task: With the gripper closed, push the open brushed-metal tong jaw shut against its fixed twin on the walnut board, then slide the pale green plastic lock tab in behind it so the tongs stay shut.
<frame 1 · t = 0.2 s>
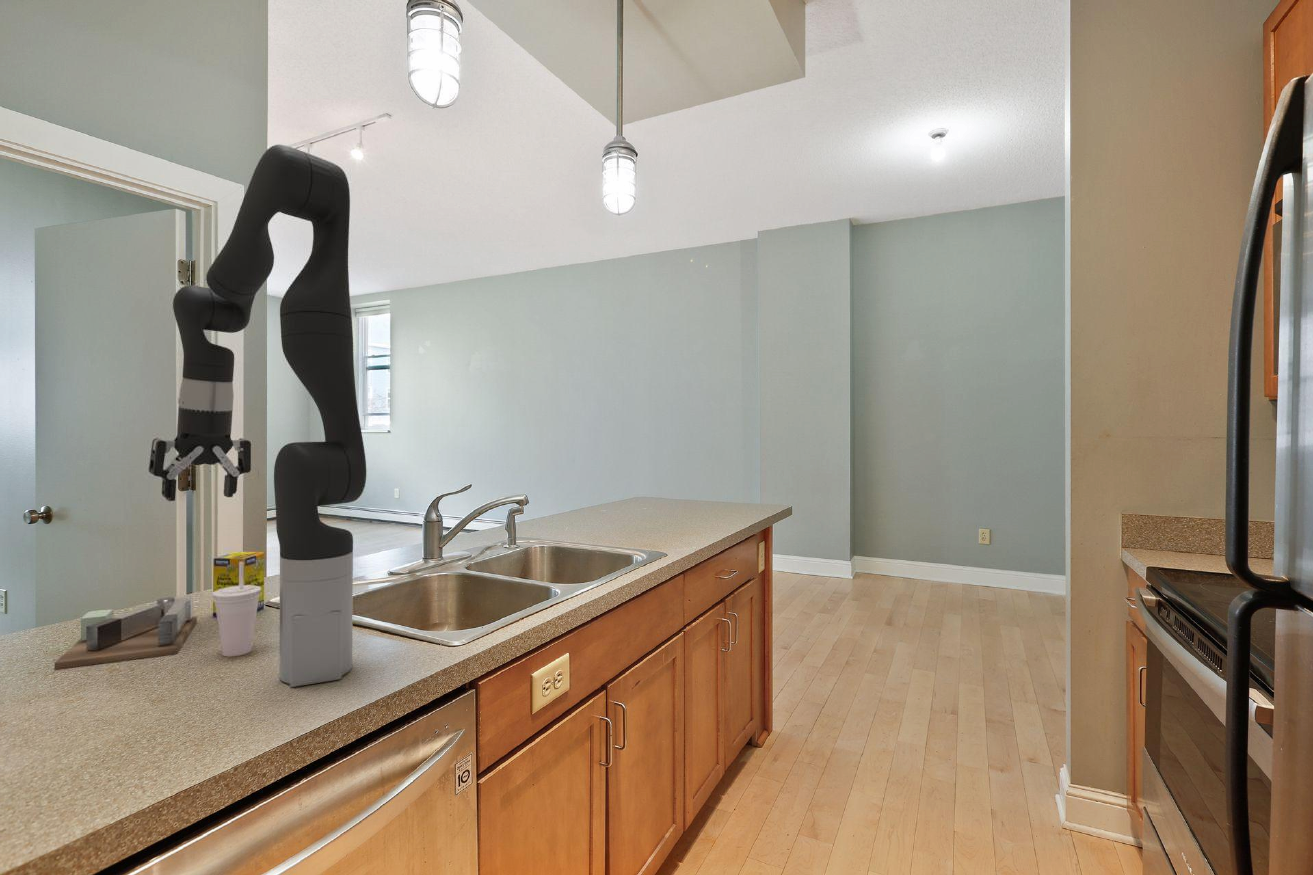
hand: (200, 498, 107), 22 cm above the counter, tool pointing down, fingers open, 8 cm apart
tong jaw: (125, 625, 98), point 3 cm above the counter, hinge at 30.0°
smoothie: (236, 653, 96), on the counter
lock tab: (97, 624, 99), point 3 cm above the counter, slide at 0.0 cm
fixed jaw: (165, 628, 106), resting on walnut board
walnut board: (133, 642, 99), on the counter
supplement box: (239, 613, 115), on the counter
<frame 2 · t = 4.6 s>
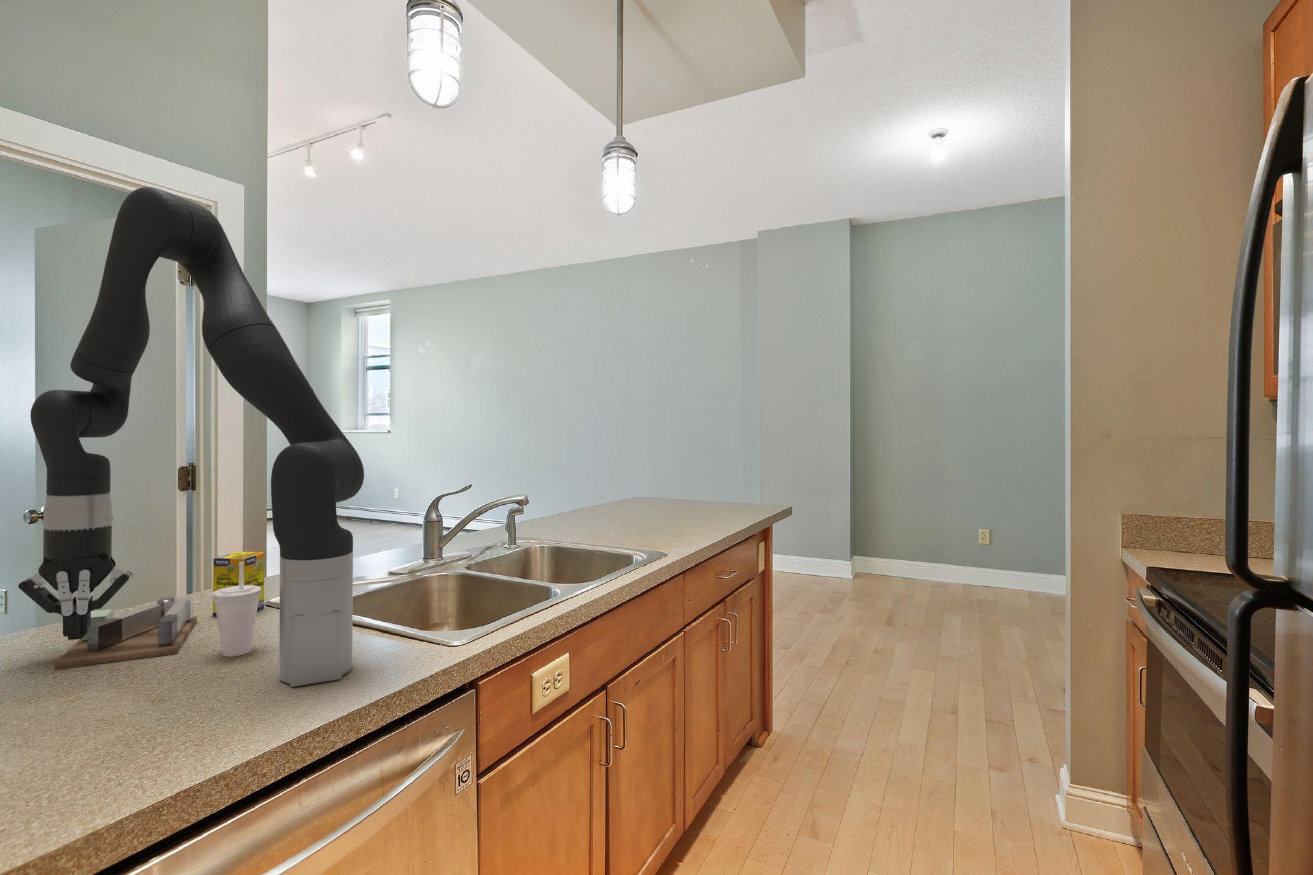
hand: (77, 637, 93), 3 cm above the counter, tool pointing down, fingers closed
tong jaw: (126, 625, 98), point 3 cm above the counter, hinge at 29.4°, touching gripper
everything else where it was.
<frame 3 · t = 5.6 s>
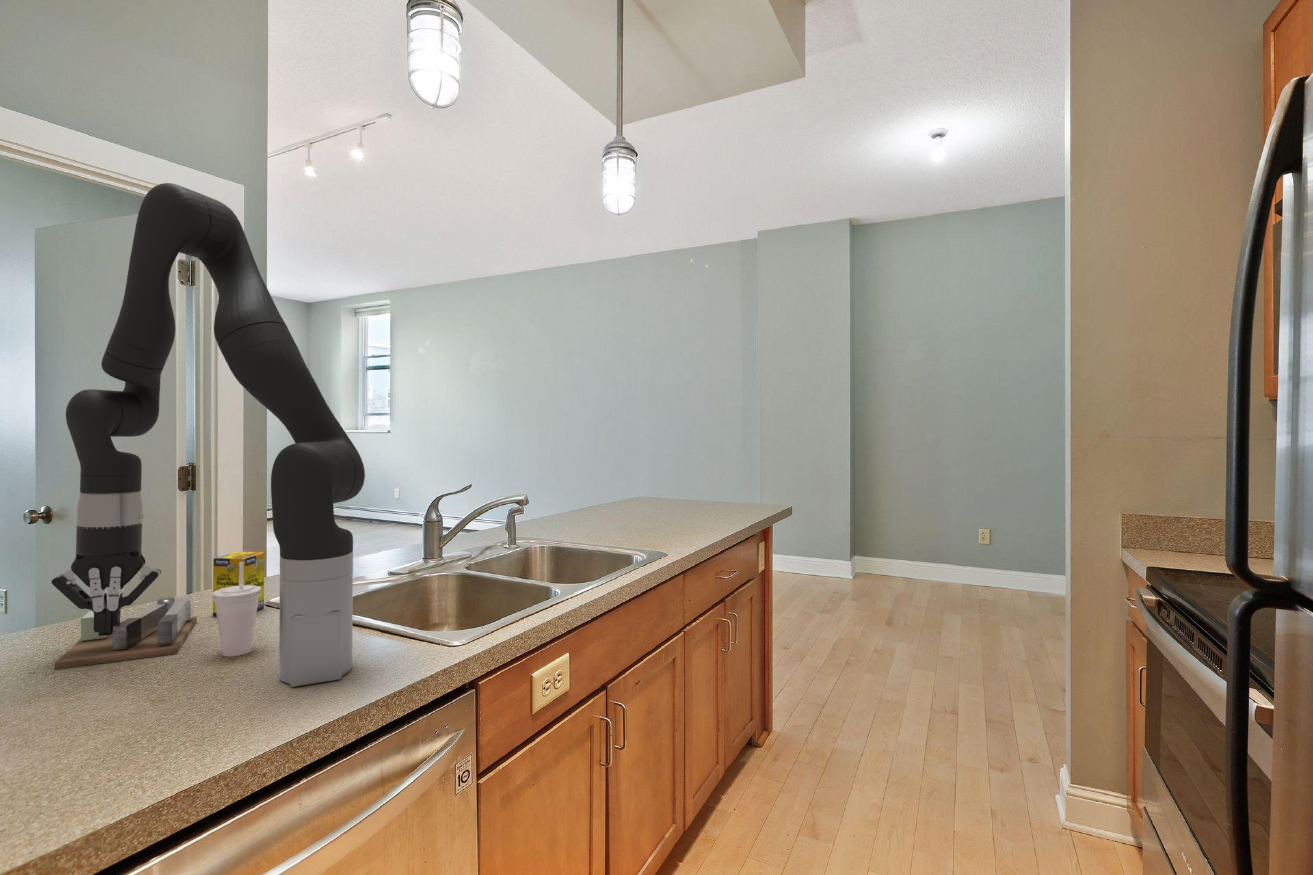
hand: (107, 633, 94), 3 cm above the counter, tool pointing down, fingers closed
tong jaw: (140, 625, 99), point 3 cm above the counter, hinge at 13.7°, touching gripper
everything else where it was.
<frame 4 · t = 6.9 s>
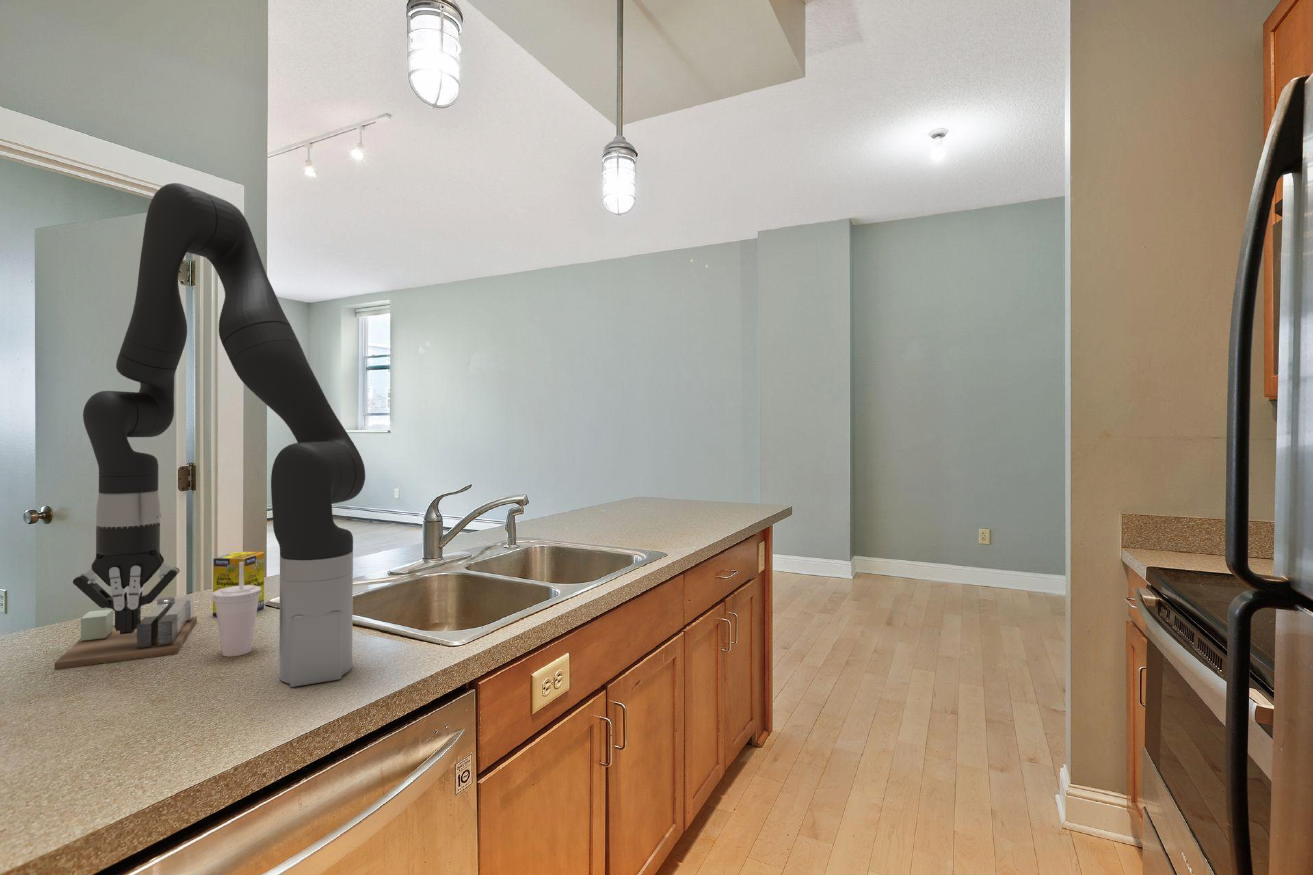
hand: (128, 632, 96), 3 cm above the counter, tool pointing down, fingers closed
tong jaw: (153, 624, 99), point 3 cm above the counter, hinge at 1.1°, touching gripper
everything else where it was.
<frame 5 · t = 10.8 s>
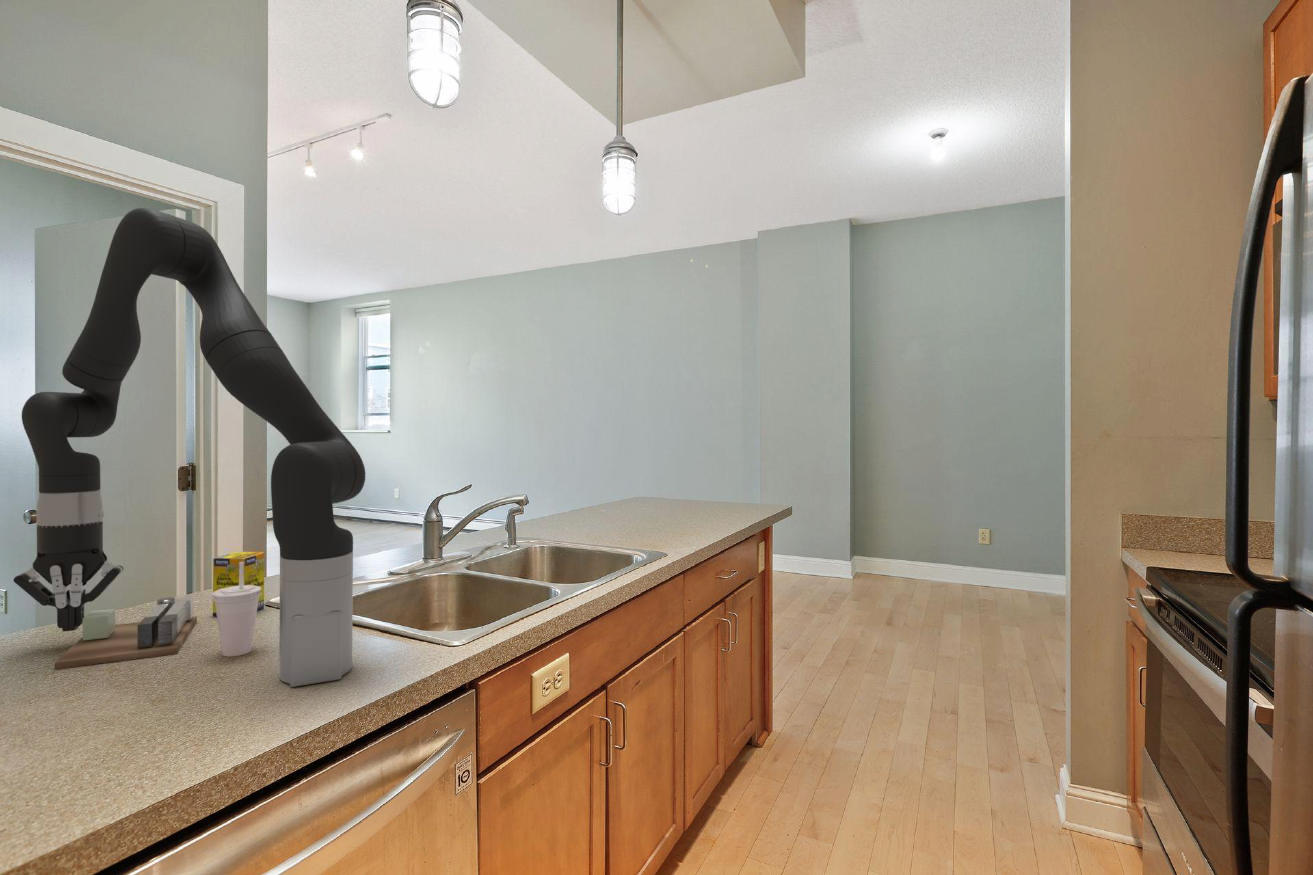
hand: (71, 629, 97), 3 cm above the counter, tool pointing down, fingers closed
tong jaw: (154, 624, 99), point 3 cm above the counter, hinge at 0.8°
lock tab: (99, 624, 99), point 3 cm above the counter, slide at 0.2 cm, touching gripper
everything else where it was.
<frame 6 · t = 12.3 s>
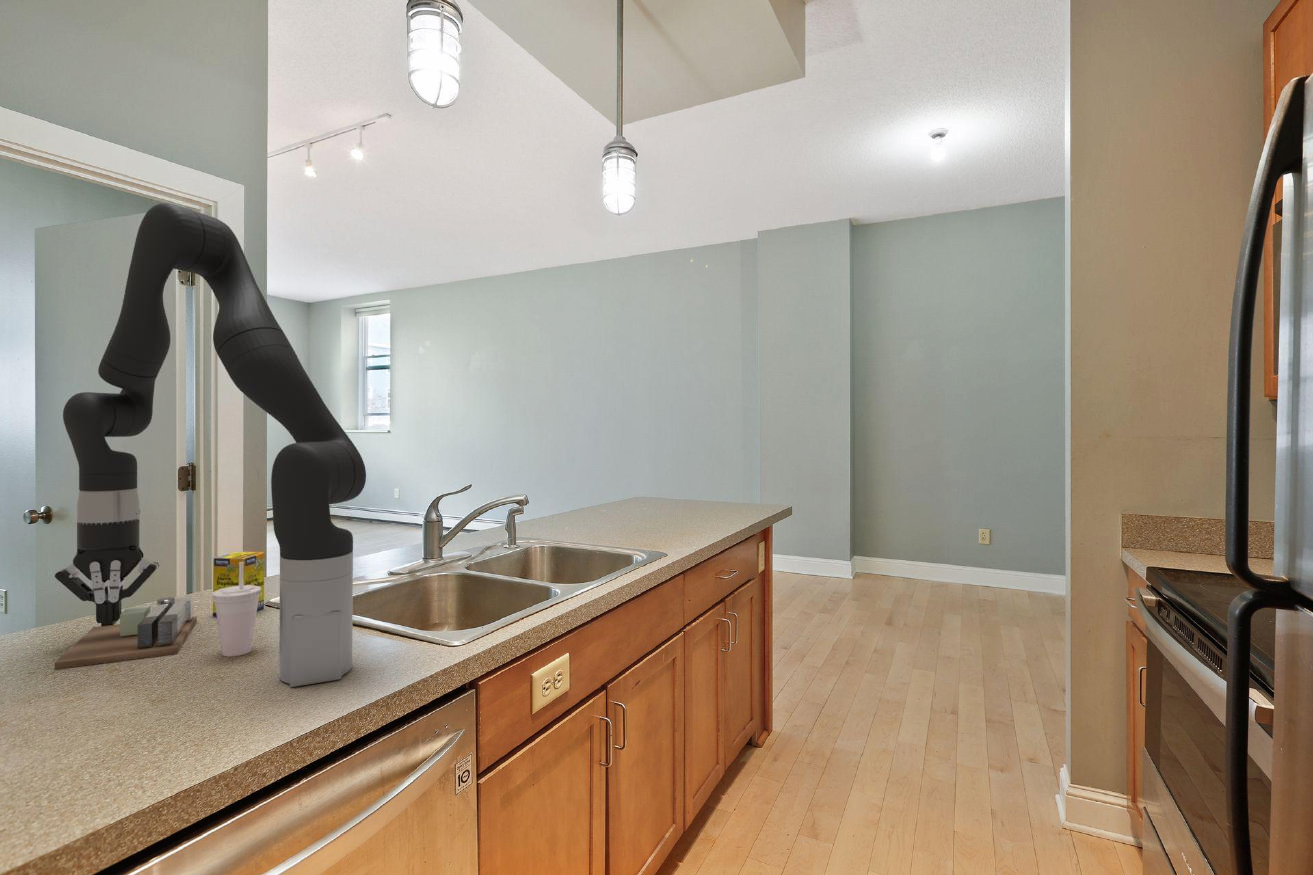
hand: (109, 624, 99), 3 cm above the counter, tool pointing down, fingers closed
lock tab: (135, 620, 101), point 3 cm above the counter, slide at 4.7 cm
everything else where it was.
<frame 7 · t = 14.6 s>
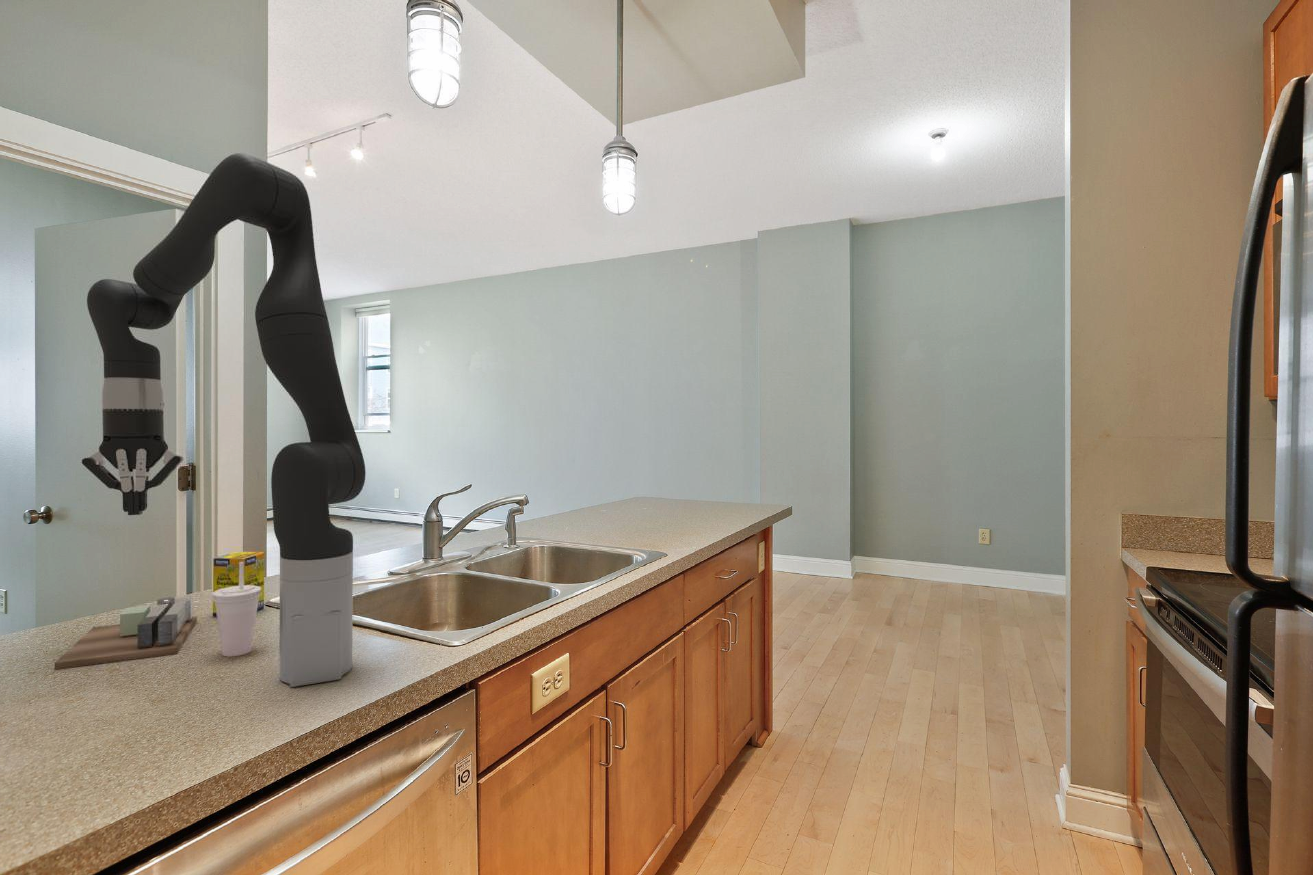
hand: (135, 514, 100), 21 cm above the counter, tool pointing down, fingers closed
nothing on the counter moved.
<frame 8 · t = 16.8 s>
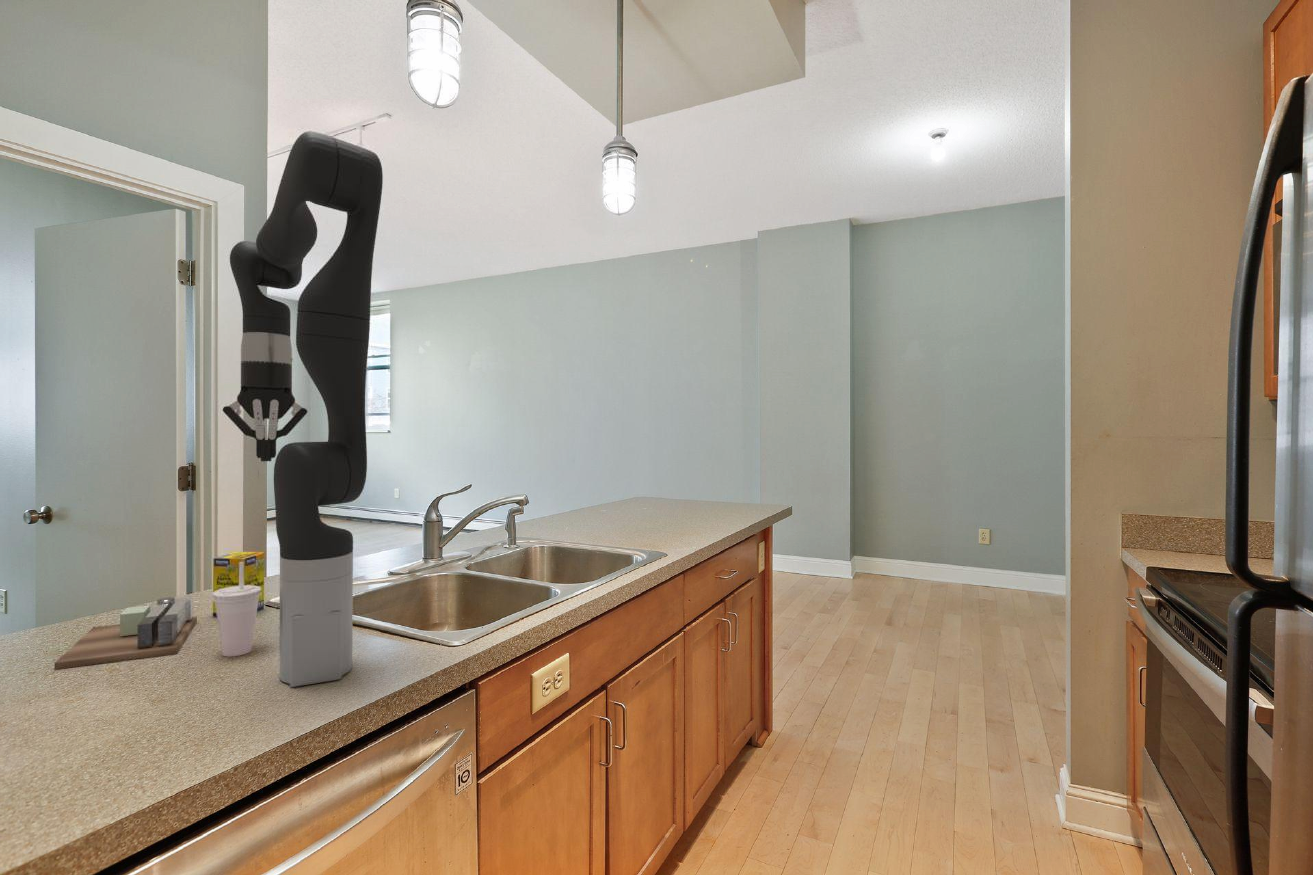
hand: (266, 461, 107), 29 cm above the counter, tool pointing down, fingers closed
nothing on the counter moved.
at the end: tong jaw at +1° (first picture: +30°); lock tab slide at 4.8 cm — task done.
